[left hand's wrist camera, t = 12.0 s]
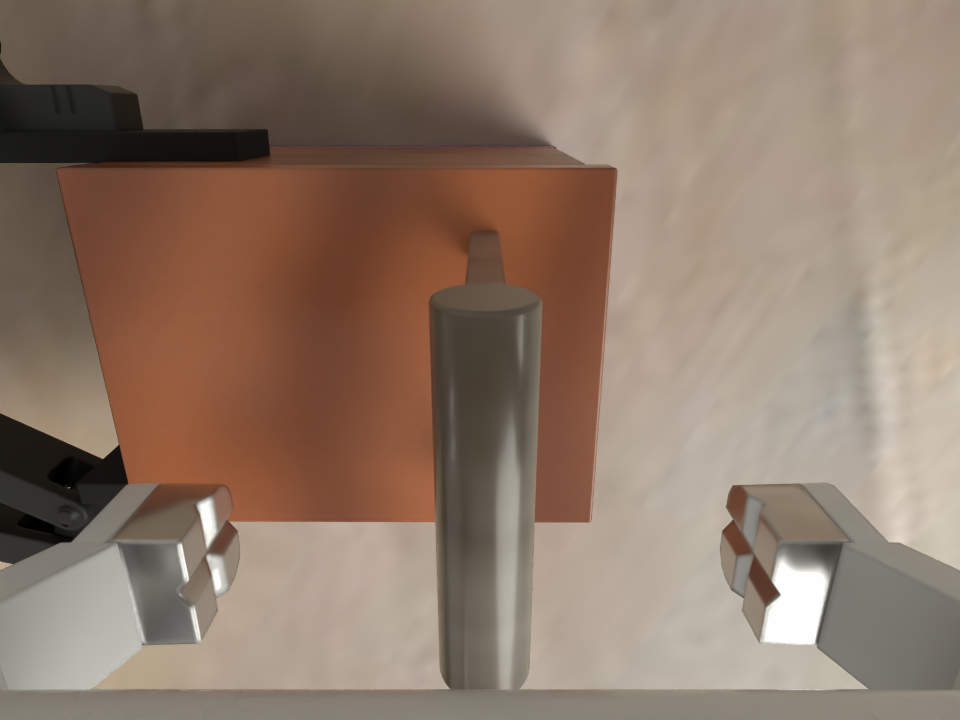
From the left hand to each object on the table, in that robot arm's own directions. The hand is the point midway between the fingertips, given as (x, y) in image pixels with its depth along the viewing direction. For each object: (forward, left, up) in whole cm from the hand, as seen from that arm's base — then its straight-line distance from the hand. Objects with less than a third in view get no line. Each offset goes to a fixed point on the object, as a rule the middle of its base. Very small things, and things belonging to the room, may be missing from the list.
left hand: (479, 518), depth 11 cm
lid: (+1, -3, -8) cm, 8 cm away
